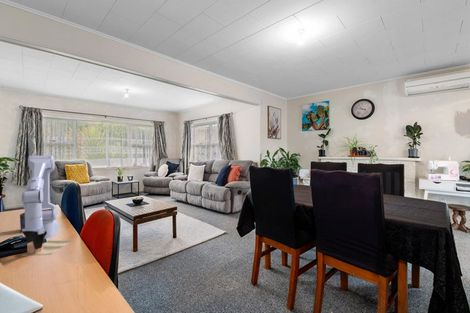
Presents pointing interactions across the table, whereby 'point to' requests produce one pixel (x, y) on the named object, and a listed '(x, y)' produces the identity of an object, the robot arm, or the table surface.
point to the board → (50, 247)
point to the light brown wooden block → (31, 248)
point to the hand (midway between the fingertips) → (35, 246)
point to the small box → (22, 221)
